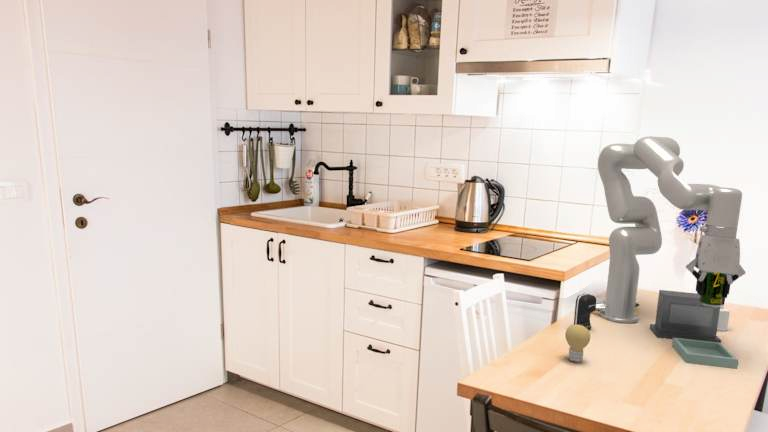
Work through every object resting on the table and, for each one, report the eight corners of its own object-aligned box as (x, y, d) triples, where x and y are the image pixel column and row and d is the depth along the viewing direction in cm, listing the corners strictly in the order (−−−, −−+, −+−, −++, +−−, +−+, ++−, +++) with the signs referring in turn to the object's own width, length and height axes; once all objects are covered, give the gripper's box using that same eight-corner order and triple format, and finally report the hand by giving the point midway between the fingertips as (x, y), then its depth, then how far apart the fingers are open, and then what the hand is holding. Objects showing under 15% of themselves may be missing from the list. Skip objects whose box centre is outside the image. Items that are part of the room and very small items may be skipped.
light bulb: (558, 357, 154) (561, 322, 152) (575, 354, 156) (579, 320, 155) (574, 366, 148) (578, 330, 146) (592, 363, 150) (596, 328, 149)
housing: (657, 337, 173) (662, 295, 171) (649, 328, 182) (654, 288, 180) (720, 344, 170) (726, 302, 168) (709, 334, 179) (715, 294, 177)
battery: (583, 333, 173) (586, 298, 172) (572, 330, 176) (575, 295, 175) (595, 329, 178) (598, 295, 176) (584, 326, 181) (588, 292, 179)
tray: (685, 362, 154) (686, 353, 154) (671, 345, 167) (672, 337, 167) (737, 368, 152) (738, 359, 152) (719, 351, 165) (720, 342, 164)
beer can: (694, 302, 159) (700, 261, 157) (709, 301, 161) (715, 261, 159) (711, 308, 154) (717, 266, 152) (725, 307, 155) (732, 265, 154)
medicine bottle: (727, 331, 183) (732, 296, 181) (705, 330, 183) (710, 295, 181) (714, 324, 190) (719, 290, 188) (693, 323, 190) (698, 289, 188)
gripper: (691, 231, 152) (683, 295, 155) (761, 237, 149) (750, 302, 152) (682, 227, 159) (674, 288, 162) (748, 232, 156) (739, 295, 159)
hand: (711, 294), depth 157 cm, fingers closed on beer can, 5 cm apart
